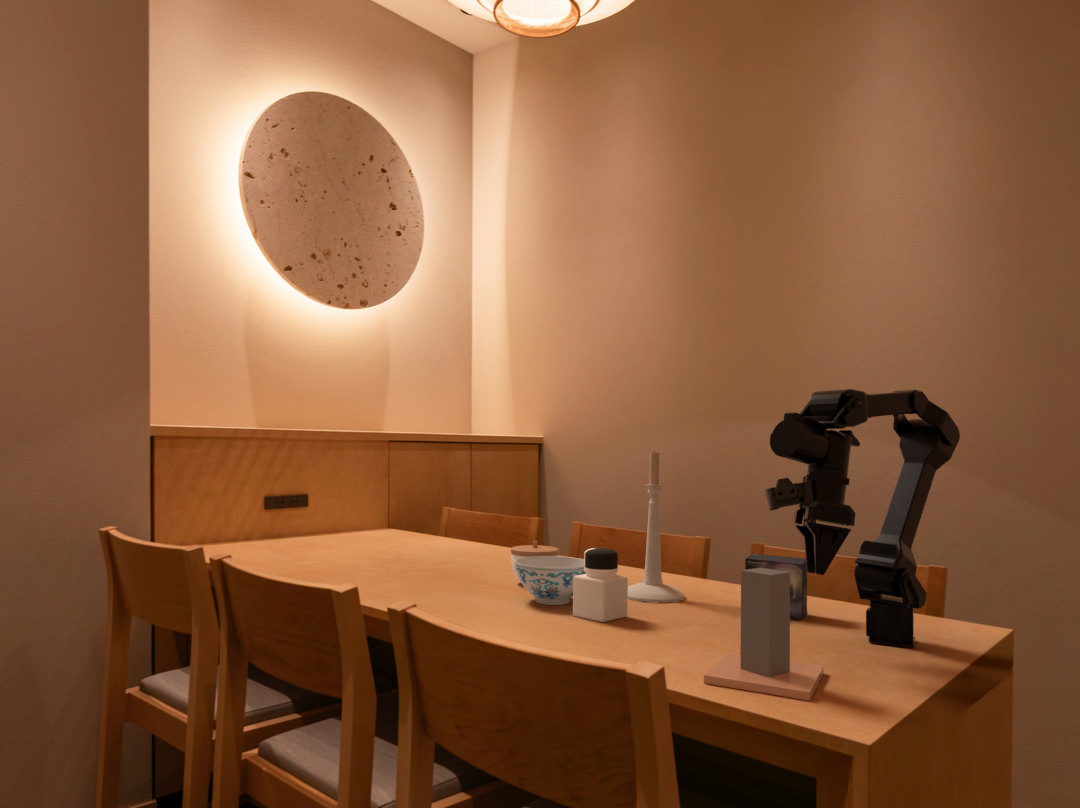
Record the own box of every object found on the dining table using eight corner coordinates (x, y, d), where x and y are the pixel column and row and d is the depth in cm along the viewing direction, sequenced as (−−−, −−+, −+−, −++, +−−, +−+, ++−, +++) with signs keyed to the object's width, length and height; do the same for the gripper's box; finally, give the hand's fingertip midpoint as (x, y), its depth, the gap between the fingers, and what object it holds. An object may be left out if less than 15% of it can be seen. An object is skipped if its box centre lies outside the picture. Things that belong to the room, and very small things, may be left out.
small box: (743, 614, 138) (743, 557, 139) (750, 607, 144) (751, 553, 145) (802, 621, 133) (802, 562, 134) (808, 614, 139) (808, 557, 140)
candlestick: (615, 599, 149) (617, 449, 151) (628, 588, 161) (630, 449, 163) (679, 605, 145) (681, 450, 147) (688, 593, 157) (689, 451, 159)
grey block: (760, 663, 102) (761, 567, 103) (789, 671, 98) (790, 572, 99) (740, 668, 99) (741, 570, 100) (769, 677, 96) (769, 575, 97)
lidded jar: (567, 583, 166) (568, 540, 167) (542, 590, 157) (543, 545, 158) (527, 577, 172) (528, 536, 172) (500, 584, 163) (501, 541, 163)
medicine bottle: (628, 616, 134) (629, 549, 134) (603, 623, 128) (604, 552, 129) (596, 610, 139) (598, 545, 139) (571, 616, 133) (573, 548, 134)
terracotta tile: (823, 673, 102) (823, 665, 102) (809, 700, 90) (809, 692, 90) (727, 659, 108) (727, 651, 108) (703, 683, 96) (703, 675, 96)
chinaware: (546, 591, 156) (547, 554, 157) (605, 601, 147) (606, 562, 147) (498, 601, 145) (499, 561, 145) (559, 613, 135) (560, 570, 136)
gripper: (767, 468, 124) (755, 562, 122) (778, 454, 106) (764, 564, 104) (838, 479, 122) (827, 575, 119) (861, 466, 104) (848, 580, 101)
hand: (815, 573), depth 111 cm, fingers open, 9 cm apart
